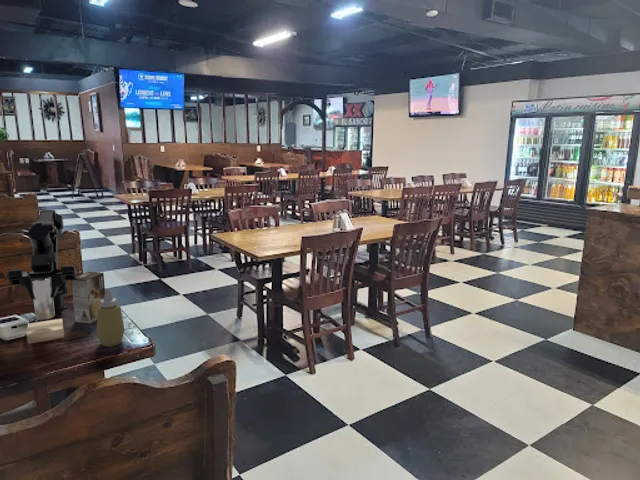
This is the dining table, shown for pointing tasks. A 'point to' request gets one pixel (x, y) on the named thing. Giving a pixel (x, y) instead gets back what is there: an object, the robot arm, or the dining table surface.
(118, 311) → the squeeze bottle
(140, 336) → the dining table surface
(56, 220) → the robot arm
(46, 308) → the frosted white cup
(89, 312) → the coffee box
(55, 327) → the block
